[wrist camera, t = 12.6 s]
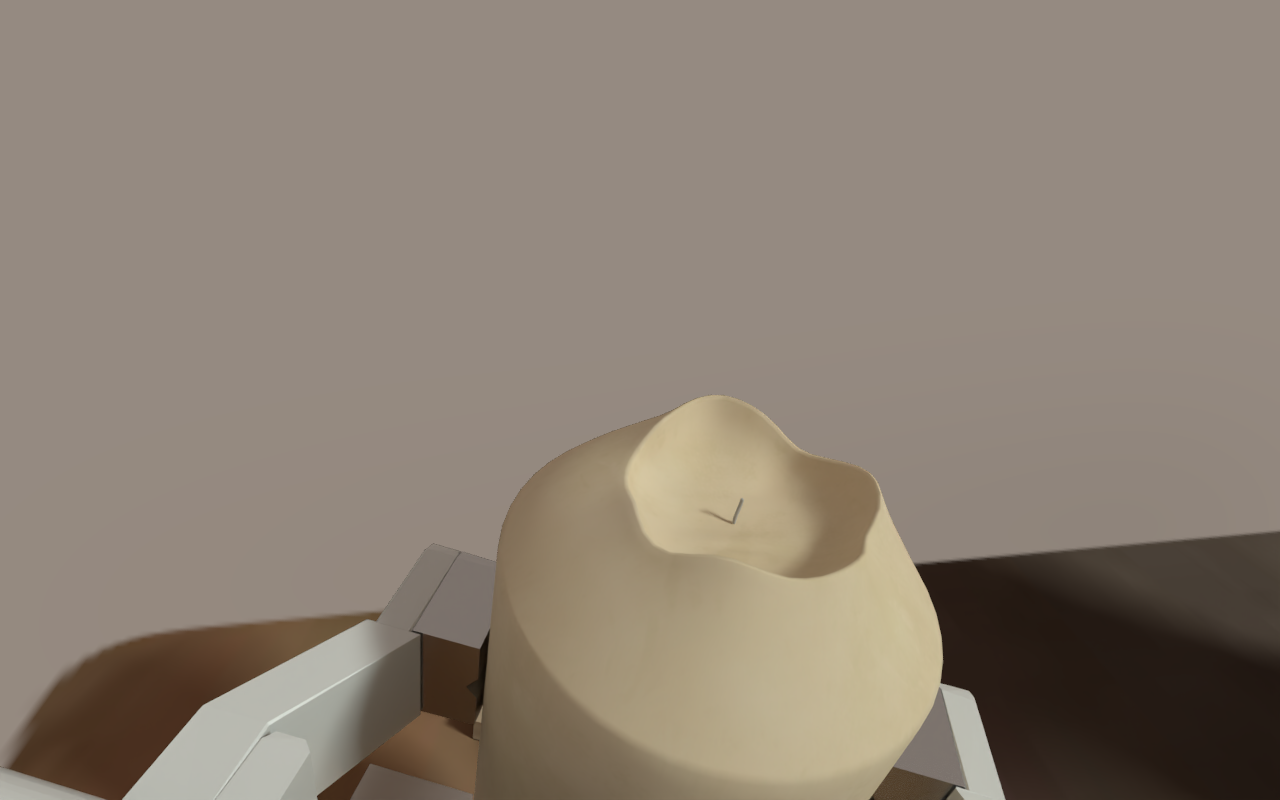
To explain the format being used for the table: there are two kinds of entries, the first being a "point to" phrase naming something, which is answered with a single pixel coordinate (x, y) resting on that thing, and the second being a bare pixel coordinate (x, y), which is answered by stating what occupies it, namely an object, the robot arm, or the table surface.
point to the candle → (702, 622)
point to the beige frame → (407, 783)
